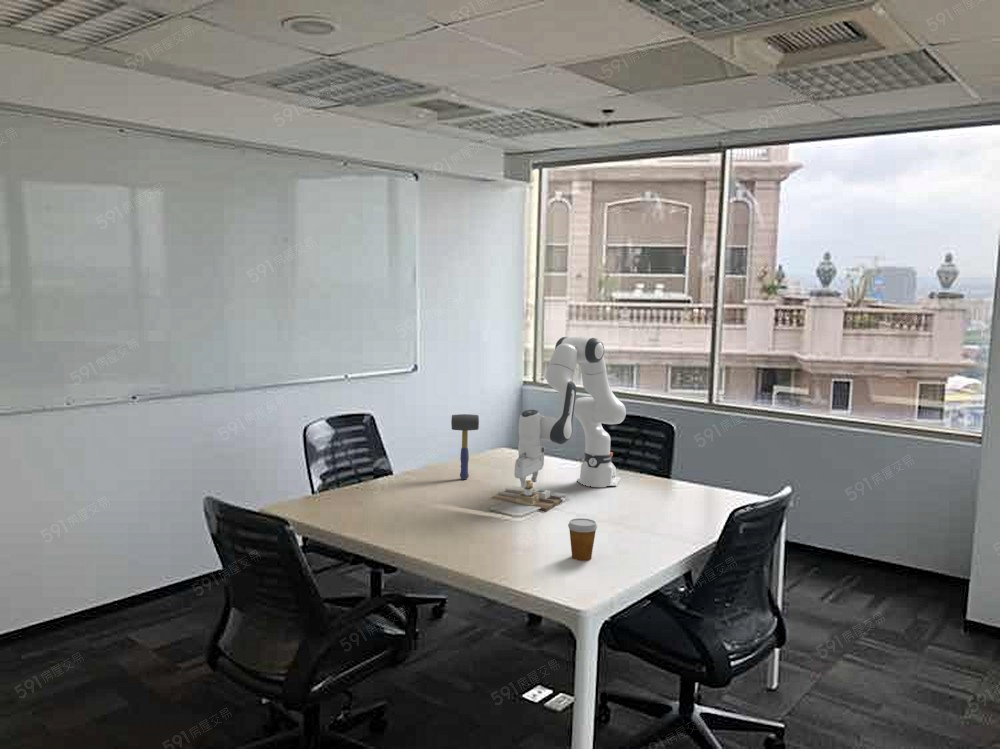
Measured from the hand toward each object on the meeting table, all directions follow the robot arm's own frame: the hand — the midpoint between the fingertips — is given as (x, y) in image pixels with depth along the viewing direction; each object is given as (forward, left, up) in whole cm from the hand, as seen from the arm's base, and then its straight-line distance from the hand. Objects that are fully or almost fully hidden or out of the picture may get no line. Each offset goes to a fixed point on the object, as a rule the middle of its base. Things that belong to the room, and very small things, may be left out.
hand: (529, 484), depth 322 cm
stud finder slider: (-7, +1, -7) cm, 10 cm away
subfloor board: (-3, -3, -9) cm, 10 cm away
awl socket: (+1, 0, -7) cm, 7 cm away
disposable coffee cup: (+48, +42, -9) cm, 64 cm away
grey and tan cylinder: (0, 0, -7) cm, 7 cm away
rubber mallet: (-24, -44, -9) cm, 51 cm away
